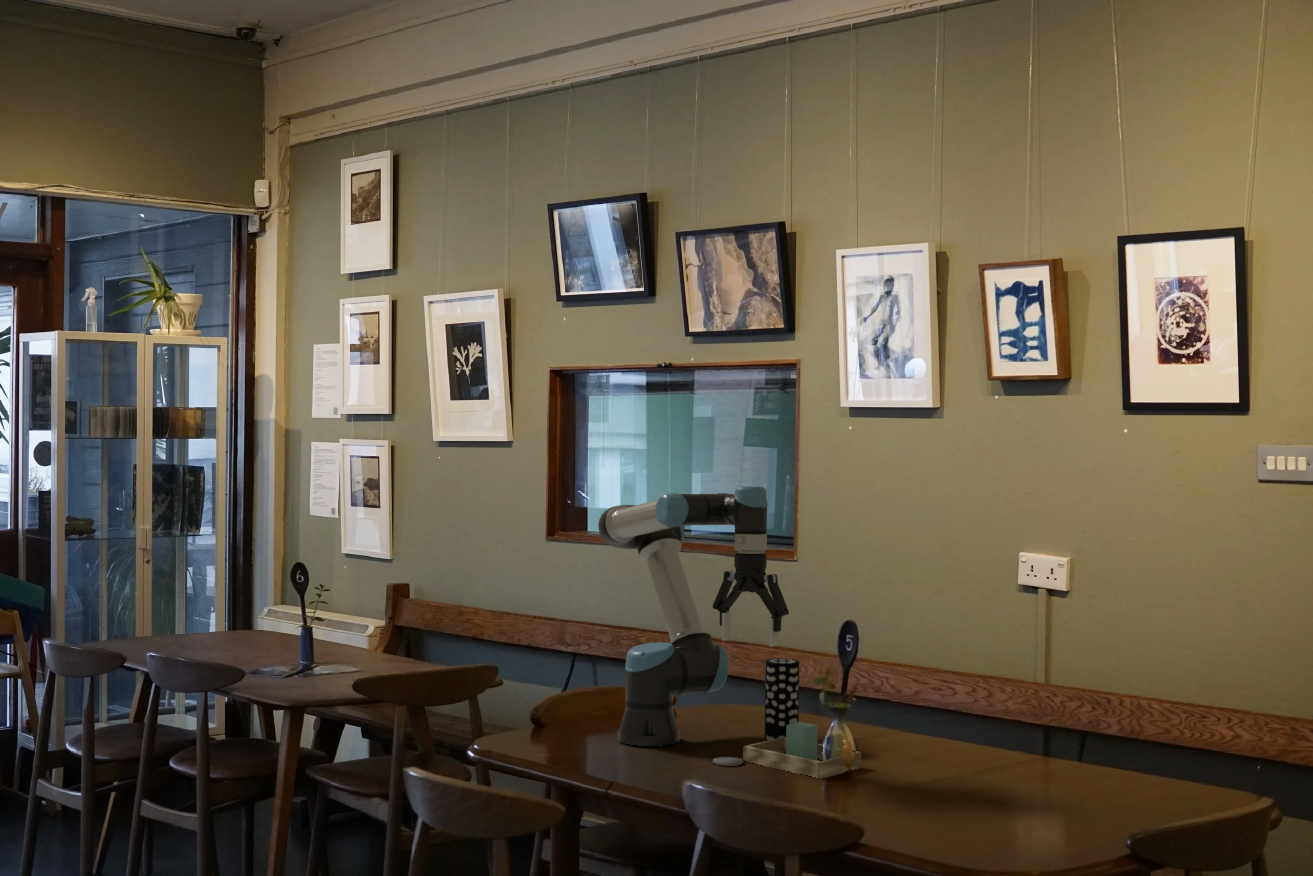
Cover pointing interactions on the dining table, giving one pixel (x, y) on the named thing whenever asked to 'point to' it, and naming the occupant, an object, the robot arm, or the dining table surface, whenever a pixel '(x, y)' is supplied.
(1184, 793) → the dining table surface
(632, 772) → the dining table surface
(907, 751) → the dining table surface
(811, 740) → the block
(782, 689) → the white-spotted black cylinder
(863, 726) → the dining table surface
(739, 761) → the coaster
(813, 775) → the tray
